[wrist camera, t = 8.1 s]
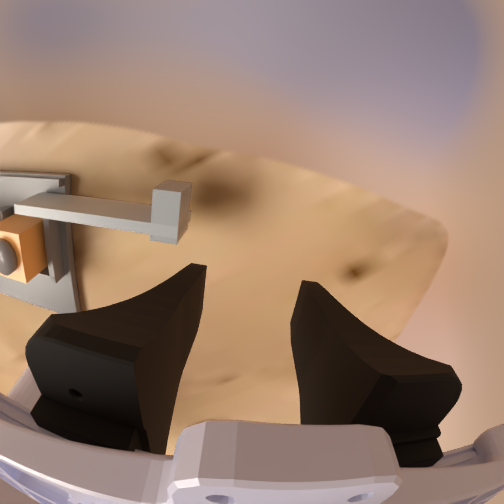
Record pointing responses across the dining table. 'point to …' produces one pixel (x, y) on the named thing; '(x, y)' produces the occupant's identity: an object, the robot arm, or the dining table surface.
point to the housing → (56, 241)
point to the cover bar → (119, 211)
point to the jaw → (22, 247)
